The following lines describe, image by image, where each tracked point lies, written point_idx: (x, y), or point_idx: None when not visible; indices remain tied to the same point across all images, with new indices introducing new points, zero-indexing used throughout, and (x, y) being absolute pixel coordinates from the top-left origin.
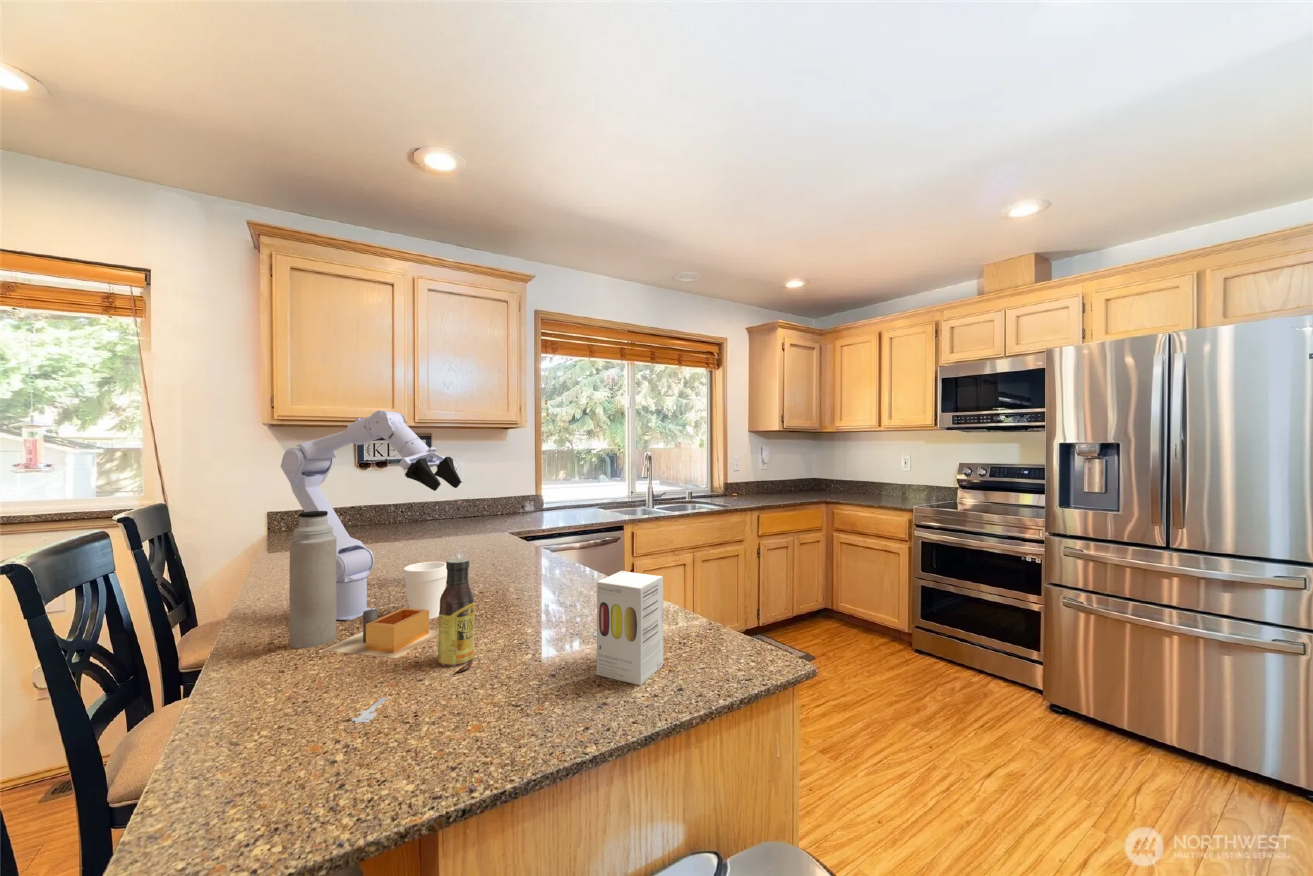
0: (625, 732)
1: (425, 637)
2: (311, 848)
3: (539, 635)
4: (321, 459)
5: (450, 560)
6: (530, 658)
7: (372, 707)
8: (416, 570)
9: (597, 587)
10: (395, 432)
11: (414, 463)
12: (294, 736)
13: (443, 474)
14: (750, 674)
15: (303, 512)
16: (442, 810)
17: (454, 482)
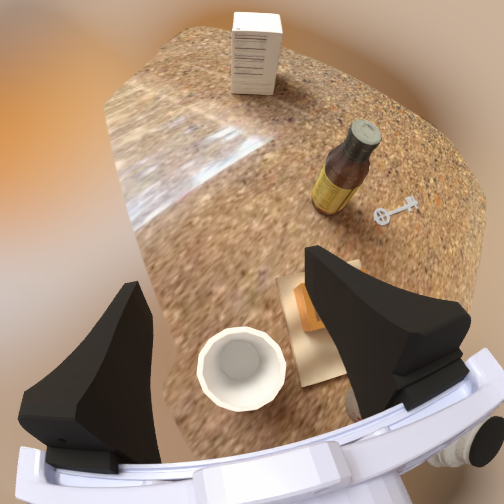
0: (322, 67)
1: (304, 281)
2: (448, 143)
3: (215, 177)
4: None
5: (374, 139)
6: (272, 151)
7: (405, 206)
8: (236, 402)
9: (282, 37)
10: None
11: (461, 339)
12: (442, 226)
13: (141, 404)
14: (223, 38)
15: (498, 446)
16: (411, 112)
17: (145, 317)
